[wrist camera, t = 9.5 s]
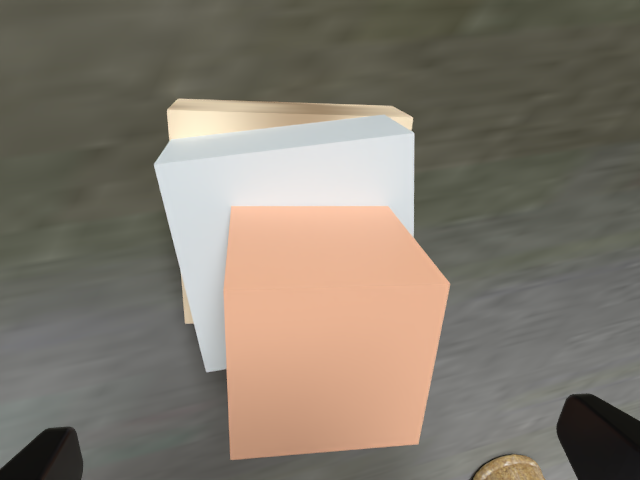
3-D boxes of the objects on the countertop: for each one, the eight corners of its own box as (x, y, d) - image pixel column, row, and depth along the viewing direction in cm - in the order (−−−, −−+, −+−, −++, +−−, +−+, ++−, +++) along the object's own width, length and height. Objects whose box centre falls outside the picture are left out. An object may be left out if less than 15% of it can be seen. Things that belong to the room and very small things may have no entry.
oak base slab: (193, 284, 20) (185, 323, 17) (179, 96, 17) (166, 109, 14) (368, 279, 21) (386, 315, 19) (388, 104, 18) (412, 117, 15)
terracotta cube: (235, 339, 14) (230, 459, 10) (231, 206, 12) (223, 290, 8) (372, 332, 15) (418, 444, 11) (388, 206, 13) (450, 283, 9)
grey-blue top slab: (212, 319, 17) (206, 372, 15) (171, 139, 14) (153, 164, 12) (388, 292, 18) (413, 337, 15) (384, 114, 15) (414, 132, 12)
